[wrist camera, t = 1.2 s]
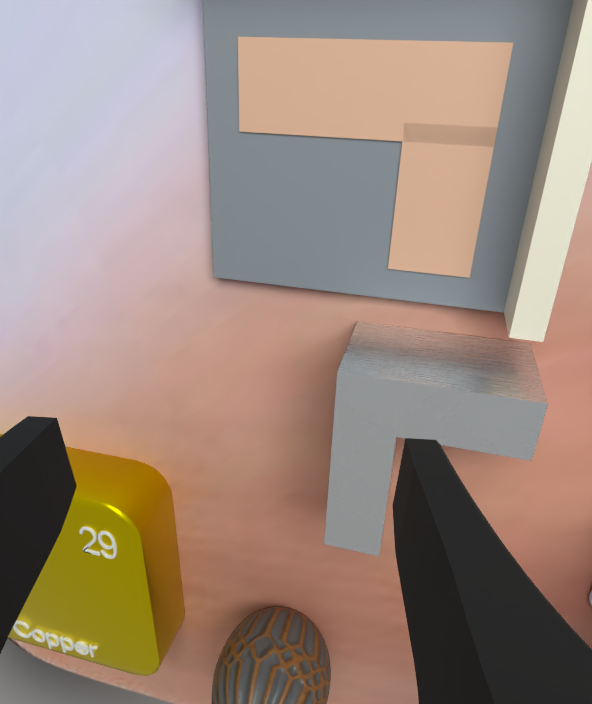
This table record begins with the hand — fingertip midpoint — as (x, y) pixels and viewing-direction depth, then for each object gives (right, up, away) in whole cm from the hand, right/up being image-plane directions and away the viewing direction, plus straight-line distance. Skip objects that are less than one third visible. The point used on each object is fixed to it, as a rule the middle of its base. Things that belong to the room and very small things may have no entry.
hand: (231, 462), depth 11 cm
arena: (+5, +11, +9) cm, 16 cm away
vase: (+1, -16, +25) cm, 29 cm away
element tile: (-13, -10, +26) cm, 31 cm away
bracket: (+8, -1, +15) cm, 17 cm away
